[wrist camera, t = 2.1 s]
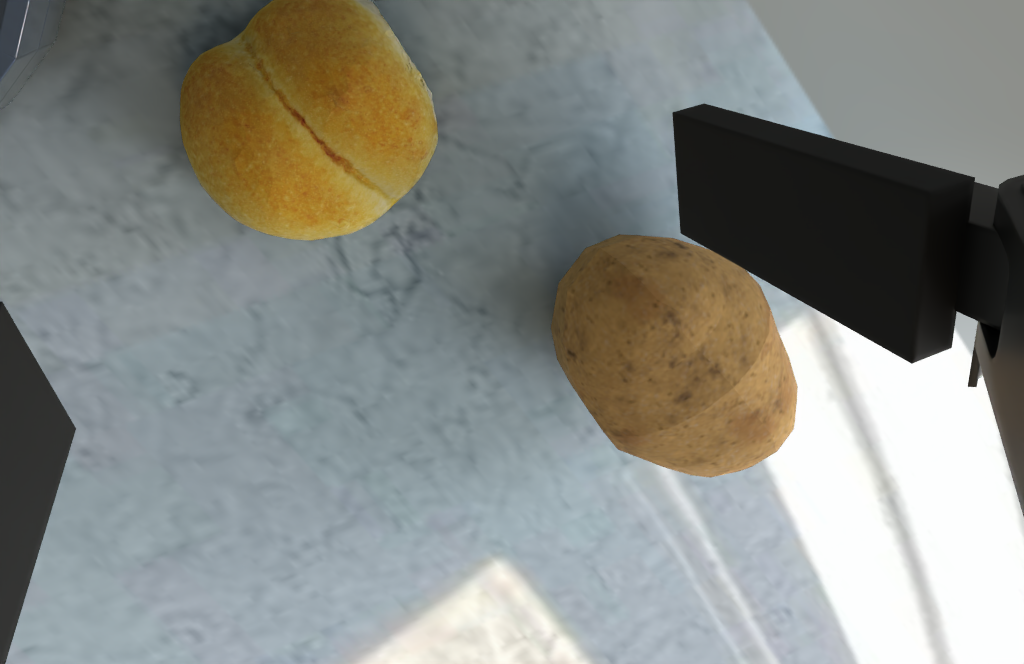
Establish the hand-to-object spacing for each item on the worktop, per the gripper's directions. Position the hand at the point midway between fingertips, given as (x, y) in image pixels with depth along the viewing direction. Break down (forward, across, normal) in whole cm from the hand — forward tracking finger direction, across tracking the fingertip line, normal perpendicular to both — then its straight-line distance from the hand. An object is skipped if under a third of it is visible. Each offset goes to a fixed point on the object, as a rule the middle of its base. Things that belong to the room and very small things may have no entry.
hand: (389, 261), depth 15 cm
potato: (+16, +12, -13) cm, 24 cm away
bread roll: (+16, 0, 0) cm, 16 cm away
